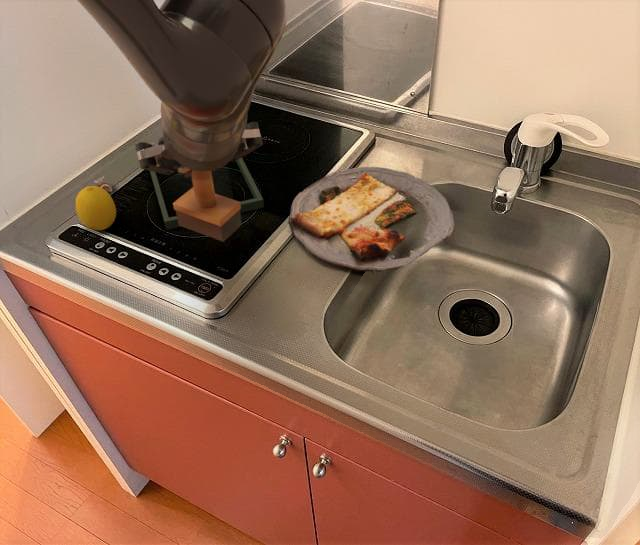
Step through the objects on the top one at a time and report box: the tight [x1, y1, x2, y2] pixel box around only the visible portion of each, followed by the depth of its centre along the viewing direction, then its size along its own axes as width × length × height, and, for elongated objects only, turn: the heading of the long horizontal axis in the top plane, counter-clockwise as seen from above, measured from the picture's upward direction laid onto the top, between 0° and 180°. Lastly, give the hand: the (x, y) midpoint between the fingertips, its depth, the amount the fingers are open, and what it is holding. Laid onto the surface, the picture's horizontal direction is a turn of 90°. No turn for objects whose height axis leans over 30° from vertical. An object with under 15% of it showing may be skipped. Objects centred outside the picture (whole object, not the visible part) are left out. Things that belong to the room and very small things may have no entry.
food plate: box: [287, 166, 455, 274], centre depth 88 cm, size 25×23×4 cm
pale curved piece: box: [93, 176, 113, 193], centre depth 94 cm, size 3×2×4 cm
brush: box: [172, 170, 243, 242], centre depth 69 cm, size 7×4×12 cm, turn 61°
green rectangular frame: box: [149, 157, 265, 230], centre depth 96 cm, size 20×16×2 cm
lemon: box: [75, 185, 117, 231], centre depth 86 cm, size 6×6×8 cm
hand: (197, 166), depth 69 cm, fingers closed on brush, 2 cm apart
